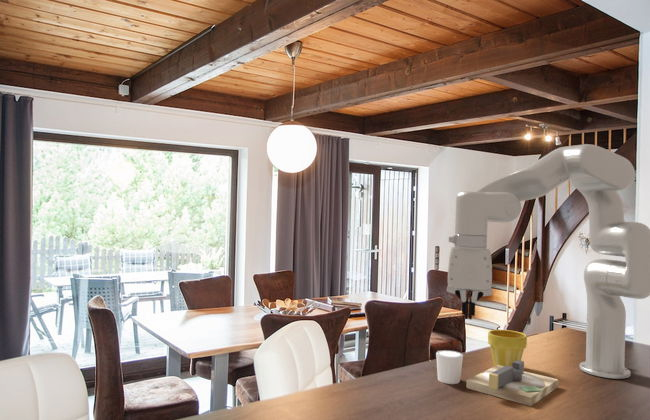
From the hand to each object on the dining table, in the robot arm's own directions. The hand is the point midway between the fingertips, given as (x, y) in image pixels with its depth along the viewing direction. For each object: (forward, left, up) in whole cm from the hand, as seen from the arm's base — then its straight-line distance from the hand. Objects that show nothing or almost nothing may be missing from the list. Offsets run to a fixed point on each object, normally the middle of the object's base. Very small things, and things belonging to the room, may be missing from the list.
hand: (468, 318), depth 122 cm
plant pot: (-28, -2, -19) cm, 33 cm away
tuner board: (-13, +6, -18) cm, 23 cm away
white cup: (-6, -8, -19) cm, 21 cm away
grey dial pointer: (-9, +6, -16) cm, 19 cm away
